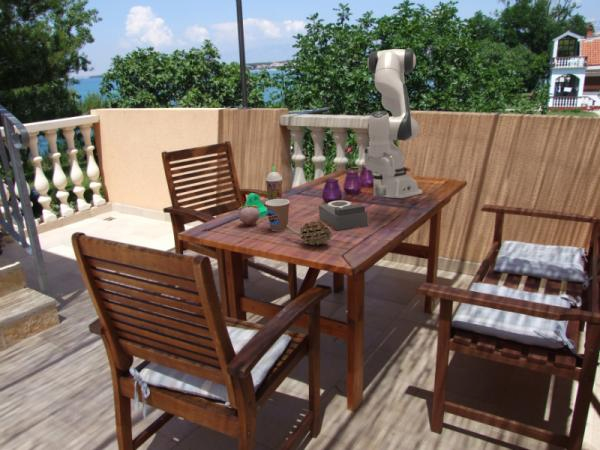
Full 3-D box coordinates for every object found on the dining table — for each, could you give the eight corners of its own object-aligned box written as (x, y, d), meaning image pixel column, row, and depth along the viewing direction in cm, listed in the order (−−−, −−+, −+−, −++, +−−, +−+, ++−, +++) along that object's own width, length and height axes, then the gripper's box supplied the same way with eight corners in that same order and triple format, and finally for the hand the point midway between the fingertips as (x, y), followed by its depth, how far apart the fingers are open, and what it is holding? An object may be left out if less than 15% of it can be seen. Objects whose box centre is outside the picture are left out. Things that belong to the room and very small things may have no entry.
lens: (382, 192, 227) (382, 169, 224) (389, 195, 222) (389, 172, 219) (370, 194, 225) (370, 171, 222) (377, 197, 220) (377, 173, 217)
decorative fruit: (256, 221, 235) (255, 199, 232) (262, 225, 228) (260, 203, 225) (236, 224, 232) (234, 202, 229) (241, 229, 225) (239, 206, 222)
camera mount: (252, 220, 238) (250, 198, 234) (242, 216, 243) (240, 195, 240) (272, 214, 245) (271, 193, 242) (263, 211, 250) (261, 190, 247)
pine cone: (338, 243, 201) (337, 219, 198) (325, 251, 193) (324, 226, 190) (291, 235, 213) (289, 212, 210) (277, 243, 205) (275, 219, 202)
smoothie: (265, 208, 255) (262, 168, 249) (270, 203, 263) (267, 164, 257) (281, 208, 253) (279, 168, 247) (286, 203, 261) (283, 164, 255)
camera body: (347, 213, 239) (347, 194, 236) (367, 225, 221) (367, 204, 218) (319, 218, 234) (318, 198, 231) (337, 230, 216) (336, 209, 213)
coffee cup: (262, 229, 222) (260, 202, 219) (280, 223, 229) (278, 197, 226) (278, 234, 215) (276, 206, 212) (296, 228, 222) (294, 201, 218)
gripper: (399, 154, 209) (399, 187, 214) (374, 146, 228) (375, 177, 232) (385, 156, 207) (385, 189, 212) (361, 148, 226) (362, 179, 230)
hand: (379, 183), depth 222 cm, fingers closed on lens, 5 cm apart
